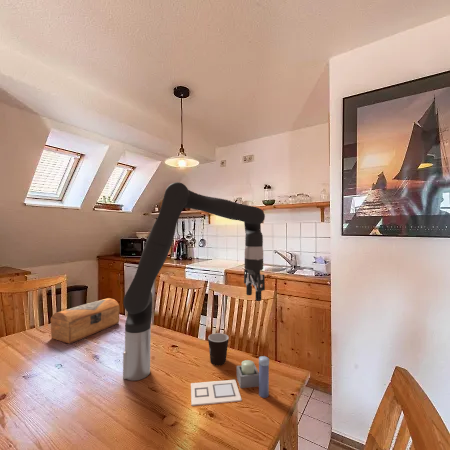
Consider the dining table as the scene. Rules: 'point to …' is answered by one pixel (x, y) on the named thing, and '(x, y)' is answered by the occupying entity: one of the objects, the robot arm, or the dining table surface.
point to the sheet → (214, 392)
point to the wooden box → (84, 320)
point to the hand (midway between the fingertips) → (253, 297)
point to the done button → (247, 367)
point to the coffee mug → (218, 348)
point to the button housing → (248, 378)
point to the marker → (263, 376)
